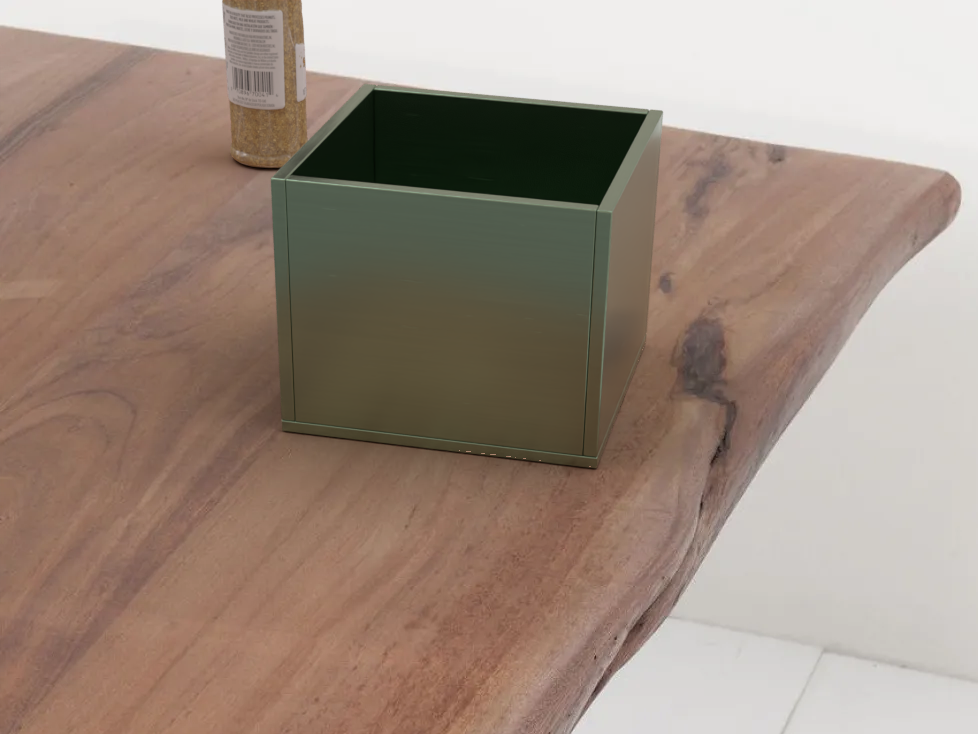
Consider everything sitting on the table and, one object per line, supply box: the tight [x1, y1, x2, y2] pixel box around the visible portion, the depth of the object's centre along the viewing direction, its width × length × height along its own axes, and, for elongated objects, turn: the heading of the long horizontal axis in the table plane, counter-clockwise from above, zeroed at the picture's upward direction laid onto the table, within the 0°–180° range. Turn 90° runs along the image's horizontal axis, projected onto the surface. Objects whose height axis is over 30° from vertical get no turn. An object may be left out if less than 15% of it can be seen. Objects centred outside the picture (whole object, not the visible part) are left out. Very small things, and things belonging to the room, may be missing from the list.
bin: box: [270, 83, 664, 469], centre depth 79 cm, size 13×13×10 cm
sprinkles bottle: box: [221, 0, 309, 169], centre depth 102 cm, size 5×5×13 cm
